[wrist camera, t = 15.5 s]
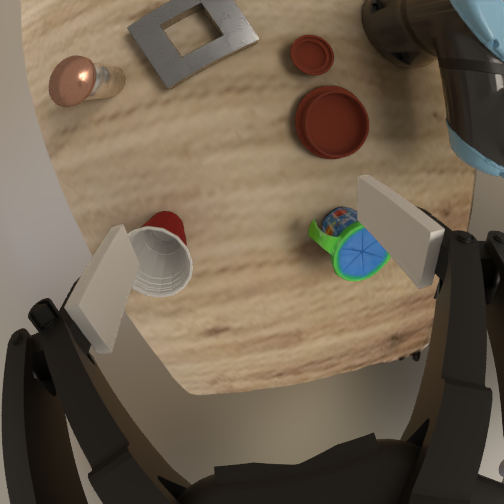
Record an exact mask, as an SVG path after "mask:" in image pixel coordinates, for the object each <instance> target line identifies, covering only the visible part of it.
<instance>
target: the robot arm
mask: <svg viewBox="0 0 504 504" xmlns="http://www.w3.org/2000/svg"><path fill="white" fill-rule="evenodd" d="M362 19H363V25H364V28H365V31H366V33H367V36H368V38H369V39H370V41H371V43H372V44H373V45H374V47H375V48H376V49H377V50H378V51H379V52H380V53H381V54H382V55H383V56H384V57H385V58H386V59H388V60H389V61H391V62H392V63H394V64H397V65H399V66H402V67H423V66H426V65H428V64H430V63H431V62H433V61H435V60H437V59H438V63H439V68H440V73H441V79H442V85H443V92H444V99H445V108H446V124H447V127H448V132H449V141H450V146H451V148H452V150H453V151H454V152H455V153H456V155H457V156H458V157H459V158H460V159H461V160H462V161H464V162H465V163H466V164H468V165H470V166H471V167H473V168H475V169H477V170H479V171H482V172H484V173H487V174H489V175H493V176H498V175H499V176H501V177H503V178H504V1H503V0H366V2H365V4H364V7H363V11H362ZM357 220H358V221H359V222H360V223H361V224H362V225H363V226H364V227H365V228H366V229H367V230H368V231H369V232H370V234H371V235H372V236H373V237H374V238H375V239H376V240H377V241H378V242H379V243H380V244H381V246H382V247H383V248H384V249H385V250H386V251H387V252H388V253H389V254H390V256H391V257H392V258H393V259H394V260H395V261H396V263H397V264H398V265H399V266H400V267H401V268H402V270H403V271H404V272H405V273H406V274H407V275H408V277H409V278H410V279H411V280H412V282H413V283H414V284H415V285H416V286H417V288H418V289H421V288H424V287H426V286H429V285H432V282H433V278H434V275H435V274H436V275H437V276H438V277H439V278H440V279H439V283H438V286H437V290H436V293H435V296H434V299H436V307H435V315H434V322H433V328H432V334H431V340H430V345H429V351H428V356H427V360H426V365H425V370H424V374H423V378H422V381H421V385H420V389H419V393H418V396H417V400H416V403H415V407H414V410H413V413H412V416H411V419H410V421H409V424H408V425H407V427H406V430H405V431H404V433H403V435H402V437H401V439H400V440H395V439H377V440H376V437H375V434H374V433H371V434H369V435H366V436H363V437H360V438H357V439H354V440H351V441H348V442H345V443H341V444H338V445H336V446H334V447H332V448H330V449H328V450H326V451H325V452H323V453H321V454H319V455H317V456H315V457H313V458H311V459H309V460H307V461H305V462H302V463H300V464H296V465H284V464H283V465H282V464H264V463H247V464H239V465H228V466H216V467H214V471H215V474H213V475H210V476H208V477H205V478H203V479H201V480H199V481H198V482H196V483H194V484H193V485H191V484H190V483H189V482H188V481H187V480H186V479H184V478H183V477H182V476H181V475H179V474H178V473H177V472H176V471H174V469H172V467H171V466H170V465H169V464H168V463H167V462H166V461H165V460H164V458H163V457H162V456H161V455H160V454H159V453H158V451H157V450H156V449H155V448H154V447H153V445H152V444H151V443H150V442H149V440H148V439H147V438H146V437H145V435H144V434H143V433H142V431H141V430H140V429H139V427H138V426H137V425H136V424H135V422H134V421H133V420H132V418H131V417H130V415H129V414H128V412H127V411H126V409H125V408H124V407H123V405H122V404H121V402H120V401H119V400H118V398H117V396H116V395H115V393H114V392H113V390H112V388H111V387H110V385H109V384H108V382H107V380H106V379H105V377H104V376H103V374H102V372H101V370H100V369H99V367H98V365H97V363H96V362H95V360H94V358H93V356H92V355H91V354H90V353H89V349H90V346H91V345H92V347H93V348H94V349H95V351H96V352H97V353H98V354H101V353H112V351H113V347H114V343H115V340H116V336H117V333H118V329H119V326H120V322H121V319H122V316H123V313H124V310H125V307H126V304H127V300H128V297H129V294H130V291H131V289H132V286H133V283H134V280H135V277H136V274H137V271H138V269H139V266H140V263H139V261H138V258H137V256H136V254H135V251H134V249H133V247H132V244H131V242H130V239H129V237H128V235H127V232H126V230H125V227H124V225H123V224H120V225H116V226H113V227H111V229H110V230H109V232H108V233H107V235H106V236H105V238H104V239H103V241H102V242H101V244H100V245H99V247H98V249H97V250H96V252H95V253H94V255H93V257H92V258H91V260H90V262H89V264H88V265H87V267H86V269H85V270H84V272H83V274H82V275H81V277H80V278H79V279H78V280H77V281H76V282H75V283H74V284H73V286H72V288H71V290H70V292H69V293H68V295H67V298H66V299H65V301H64V303H63V305H62V307H61V308H60V310H59V311H58V310H57V308H56V307H55V305H54V304H53V302H52V301H51V300H50V299H49V298H46V299H42V300H41V301H39V302H37V303H36V304H35V305H34V306H33V307H32V308H31V310H30V312H29V314H28V318H29V320H30V321H31V322H32V324H33V325H34V326H35V328H36V329H37V330H38V332H39V333H36V334H34V335H32V336H31V335H30V334H29V333H28V331H27V330H26V329H23V328H22V329H19V330H18V331H16V332H14V334H12V336H11V338H10V340H9V343H8V348H7V354H6V362H5V370H4V380H3V393H2V446H3V458H4V468H5V476H6V482H7V488H8V494H9V498H10V504H88V502H87V499H86V496H85V493H84V490H83V487H82V484H81V481H80V477H79V474H78V471H77V467H76V464H75V459H74V455H73V451H72V447H71V443H70V438H69V433H68V428H67V422H66V416H67V419H68V421H69V423H70V426H71V428H72V430H73V432H74V434H75V436H76V438H77V440H78V442H79V445H80V447H81V448H82V450H83V452H84V454H85V456H86V458H87V460H88V462H89V463H90V465H91V468H92V471H91V472H90V473H88V478H89V481H90V483H91V485H92V487H93V488H94V490H95V491H96V493H97V495H98V496H99V498H100V500H101V501H102V502H103V504H504V478H503V481H502V483H500V482H498V481H495V480H492V479H490V478H487V477H485V476H482V475H480V474H478V471H479V468H480V464H481V460H482V456H483V452H484V448H485V443H486V438H487V433H488V427H489V421H490V413H491V406H492V390H491V388H486V387H485V373H486V352H487V348H486V347H487V331H488V334H489V339H490V343H491V347H492V352H493V356H494V361H495V367H496V372H497V378H498V385H499V392H500V401H501V411H502V425H503V436H504V233H502V232H500V231H490V232H489V233H488V235H487V239H486V241H477V240H476V238H475V237H474V236H473V235H471V234H470V233H468V232H465V231H460V230H457V231H452V230H451V229H449V228H448V227H447V226H446V225H444V224H443V223H442V222H441V221H439V220H437V218H435V217H434V216H432V215H431V214H430V213H429V212H427V211H426V210H424V209H422V208H419V207H417V206H414V205H413V204H412V203H410V202H409V201H408V200H406V199H405V198H403V197H402V196H401V195H399V194H398V193H396V192H395V191H393V190H392V189H391V188H389V187H388V186H386V185H385V184H383V183H382V182H380V181H379V180H377V179H376V178H374V177H372V176H371V175H369V174H366V175H359V176H357ZM499 279H500V281H499ZM65 414H66V416H65ZM499 474H500V475H501V476H504V460H503V461H502V462H501V464H500V466H499Z"/></svg>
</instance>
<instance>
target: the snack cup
mask: <svg viewBox="0 0 504 504" xmlns="http://www.w3.org/2000/svg"><path fill="white" fill-rule="evenodd" d="M308 235H309V237H311V238H312V239H313V240H314V241H316V242H317V243H318V244H319V245H320V246H321V247H322V248H323V249H324V250H326V251H327V252H328V253H330V256H331V262H332V266H333V268H334V271H335V273H336V274H337V275H338V276H340V277H341V278H343V279H345V280H347V281H361V280H364V279H367V278H369V277H371V276H373V275H374V274H376V273H377V272H378V271H379V270H380V269H381V268H382V267H383V266H384V265H385V264H386V263H387V262H388V261H389V259H390V257H391V256H390V254H389V253H388V252H387V251H386V250H385V249H384V248H383V247H382V246H381V244H380V243H379V242H378V241H377V240H376V239H375V238H374V237H373V236H372V235H371V234H370V232H369V231H368V230H367V229H366V228H365V227H364V226H363V225H362V224H361V223H360V222H359V221H358V220H357V211H355V210H353V209H351V208H346V207H344V208H342V207H340V208H337V209H335V210H334V211H332V212H331V213H330V214H329V215H328V216H327V217H326V219H325V220H324V221H323V228H322V231H321V230H320V229H319V228H318V227H317V223H316V220H315V219H314V220H313V221H312V222H311V225H310V227H309V231H308Z"/></svg>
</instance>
